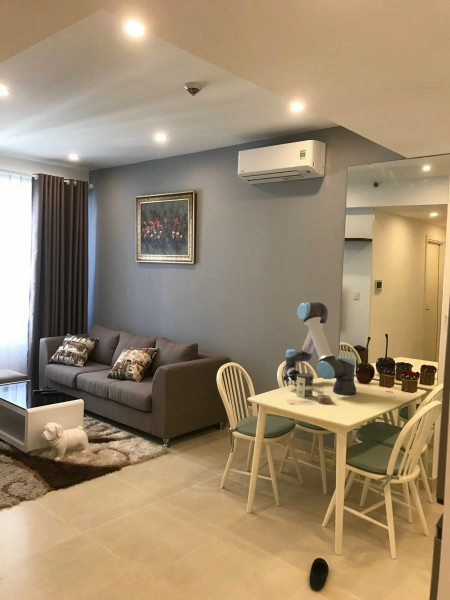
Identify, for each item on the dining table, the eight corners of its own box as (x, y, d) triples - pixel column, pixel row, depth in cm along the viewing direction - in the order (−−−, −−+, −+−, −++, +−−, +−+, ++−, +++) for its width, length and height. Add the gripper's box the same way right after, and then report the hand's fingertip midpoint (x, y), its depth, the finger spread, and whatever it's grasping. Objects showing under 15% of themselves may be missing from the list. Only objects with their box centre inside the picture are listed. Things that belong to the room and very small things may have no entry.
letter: (310, 400, 299) (310, 399, 299) (315, 405, 288) (315, 404, 288) (285, 400, 298) (285, 399, 298) (289, 405, 287) (289, 404, 287)
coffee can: (312, 395, 312) (313, 373, 311) (312, 399, 301) (313, 377, 301) (296, 394, 314) (297, 372, 313) (295, 398, 303) (296, 375, 303)
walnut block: (328, 401, 298) (328, 395, 298) (330, 404, 291) (331, 398, 291) (317, 401, 298) (317, 395, 298) (319, 404, 291) (319, 398, 291)
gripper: (276, 369, 336) (282, 375, 315) (311, 369, 338) (320, 376, 317) (275, 379, 337) (282, 387, 315) (311, 379, 339) (319, 387, 318)
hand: (301, 381), depth 316 cm, fingers open, 13 cm apart
